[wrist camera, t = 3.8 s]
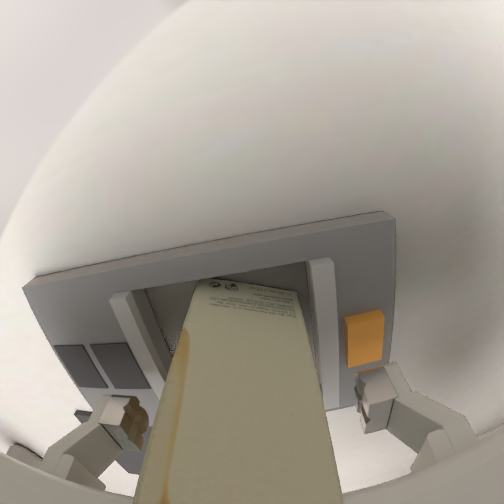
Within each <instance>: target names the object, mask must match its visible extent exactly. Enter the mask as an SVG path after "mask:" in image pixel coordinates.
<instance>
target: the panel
mask: <svg viewBox="0 0 504 504" xmlns="http://www.w3.org/2000/svg"><path fill="white" fill-rule="evenodd" d="M303 261H305V265H306V273H307V281H308V289H309V298H310V306H311V315H312V325H313V334H314V345H315V355H316V367H317V376H318V381H319V385H320V390H321V394H322V399H323V403H324V408H325V412H328V411H332V410H337V409H341V408H346V407H350V406H354V405H355V402H354V387H355V386H356V383H355V381H354V376H355V373H356V372H359V371H363V370H367V369H371V368H375V367H378V366H383V365H386V364H389V358H390V350H391V340H392V330H393V317H394V302H395V276H396V234H395V218H393V217H391V216H390V215H388V214H387V213H385V212H383V211H379V212H373V213H367V214H361V215H355V216H349V217H343V218H337V219H331V220H325V221H320V222H314V223H308V224H302V225H297V226H291V227H285V228H280V229H274V230H269V231H263V232H258V233H252V234H247V235H241V236H236V237H231V238H225V239H220V240H215V241H210V242H204V243H199V244H194V245H189V246H184V247H179V248H173V249H168V250H163V251H158V252H153V253H148V254H143V255H138V256H134V257H129V258H124V259H119V260H114V261H109V262H104V263H100V264H95V265H90V266H85V267H81V268H76V269H71V270H67V271H62V272H58V273H53V274H49V275H44V276H39V277H35V278H33V279H32V280H31V281H30V282H28V283H27V284H26V285H25V286H24V287H22V289H23V291H24V294H25V296H26V298H27V300H28V302H29V305H30V307H31V309H32V311H33V313H34V315H35V317H36V319H37V321H38V323H39V325H40V327H41V329H42V330H43V332H44V334H45V336H46V338H47V340H48V341H49V343H50V345H51V347H52V348H53V350H54V352H55V354H56V355H57V357H58V359H59V360H60V362H61V363H62V365H63V367H64V368H65V370H66V371H67V373H68V374H69V376H70V378H71V379H72V381H73V382H74V384H75V385H76V386H77V388H78V389H79V391H80V392H81V394H82V395H83V396H84V398H85V399H86V401H87V402H88V403H89V405H90V406H91V407H92V409H93V410H94V408H95V406H96V404H97V402H98V400H99V398H100V396H101V395H103V394H112V395H127V396H136V397H137V398H138V399H139V401H140V404H139V406H141V407H142V408H144V409H145V410H146V412H147V414H148V417H149V426H153V422H154V419H155V415H156V412H157V408H158V405H159V401H160V398H161V394H162V391H163V388H164V384H165V381H166V378H167V374H168V371H169V368H170V365H171V362H172V358H173V357H172V355H171V353H170V351H169V349H168V346H167V344H166V342H165V339H164V337H163V335H162V332H161V330H160V327H159V325H158V323H157V320H156V318H155V315H154V313H153V310H152V308H151V305H150V302H149V300H148V297H147V295H146V292H145V289H144V288H151V287H157V286H163V285H170V284H176V283H182V282H188V281H194V280H200V279H206V278H212V277H218V276H224V275H230V274H235V273H241V272H247V271H253V270H258V269H264V268H270V267H275V266H281V265H286V264H292V263H297V262H303Z"/></svg>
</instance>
